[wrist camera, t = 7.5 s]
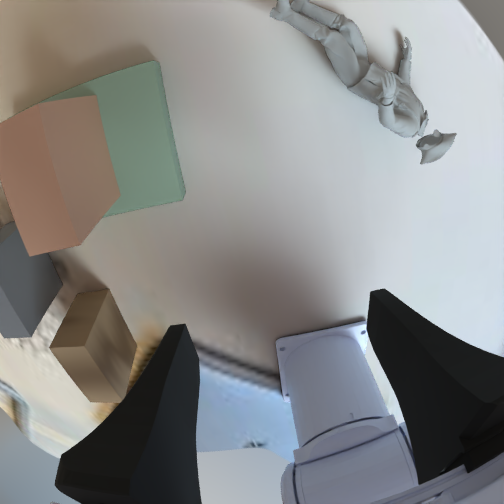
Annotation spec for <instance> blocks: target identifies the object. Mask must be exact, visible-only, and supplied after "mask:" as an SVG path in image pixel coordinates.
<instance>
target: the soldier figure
mask: <svg viewBox="0 0 504 504" xmlns="http://www.w3.org/2000/svg"><path fill="white" fill-rule="evenodd" d="M292 9H293V10H292ZM295 11H297V12H299V13H300V12H303V13H304V14H305V15H307V16H309V17H311V18H313V19H315V20H317V21H318V22H320V23H323V24H325V25H327V26H321V25H320V24H318V23H316V22H314V21H312V20H309V19H307V18H306V17H304V16H302V15H300V14H298V13H296V12H295ZM270 17H272V18H274V19H276V20H280V21H285V22H287V23H289V24H290V25H292V26H293V27H294V28H296V29H298V30H299V31H301V32H303V33H304V34H306V35H307V36H309V37H310V38H312V39H314V40H319V41H320V43H321V44H323V45H324V47H325V51H326V54H327V56H328V58H329V59H330V61H331V63H332V65H333V68H334V70H335V72H336V73H337V74H338V76H339V77H340V79H341V80H342V82H343V83H344V84H345V85H346V86H347V88H348V89H349V90H350V91H352V92H353V93H355V94H356V95H358V96H360V97H361V98H363V99H366V100H368V101H369V102H372V103H374V104H376V105H378V106H379V110H378V113H379V121H380V123H381V124H382V125H383V126H384V127H386V128H388V129H390V130H391V131H393V132H395V133H396V134H398V135H400V136H402V137H411V136H412V138H413V137H415V136H416V135H417V134H418V135H419V136H421V137H422V136H423V134H424V130H425V127H426V125H427V121H428V120H429V119H428V114H427V110H426V111H425V113H424V108H423V105H422V103H421V102H420V100H419V99H418V98H417V97H416V95H415V94H414V92H413V91H412V88H411V87H410V69H411V61H410V60H411V50H412V48H411V44H410V41H409V40H408V38H407V37H405V39H406V40H405V39H404V41H405V43H406V45H407V48H403V47H402V45H400V47H401V49H402V51H403V54H404V59H402V60H401V62H400V68H399V72H398V76H397V75H396V74H395V73H394V74H393V72H392V71H391V73H390V72H389V71H387V70H385V69H383V68H382V67H381V66H379V65H378V64H377V63H376V62H374V63H372V64H371V65H370V64H369V61H368V57H367V47H366V44H365V41H364V39H363V36H362V34H361V32H360V30H359V28H358V26H357V25H356V24H355V23H354V22H353V21H352V20H350V19H347V18H346V17H345V16H344V15H338V14H337V13H334V12H331V11H329V10H326V9H323V8H321V7H319V6H317V5H315V4H312V3H310V2H309V0H293V1H292V3H291V4H289V0H277V5H276V7H275V8H273V9H272V11H271V13H270ZM328 26H329V27H331V28H335V29H339V32H337V31H335V30H330V29H329V28H328ZM455 136H456V133H452V134H443V133H442V134H441V133H440V132H439V131H438V130H435V131H434V134H430V135H427V136H424V137H422V138H421V139H419V140H418V141H417V145H416V146H417V148H418V149H420V150H421V151H422V159H421V162H420V164H425V163H431V162H434V161H436V160H438V159H440V158H441V157H442V156H443V155H444V154H445V153H446V152H447V151H448V150H449V148H450V147H451V146H452V144H453V142H454V139H455Z"/></svg>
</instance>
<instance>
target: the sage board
mask: <svg viewBox="0 0 504 504" xmlns="http://www.w3.org/2000/svg"><path fill="white" fill-rule="evenodd" d="M92 95H96V96H97V101H98V106H99V111H100V115H101V120H102V124H103V129H104V133H105V137H106V142H107V146H108V150H109V154H110V158H111V162H112V165H113V169H114V173H115V176H116V180H117V184H118V187H119V191H120V194H121V196H120V197H119V198H118V199H117V200H116V202H115V203H114V204H113V205H112V206H111V207H110V209H109V210H108V211H107V212H106V213H105V215H104V216H103V217H107V216H112V215H116V214H120V213H125V212H129V211H134V210H138V209H143V208H147V207H152V206H157V205H162V204H167V203H172V202H177V201H182V200H183V198H184V195H185V192H186V191H185V187H184V183H183V178H182V174H181V169H180V165H179V160H178V156H177V151H176V146H175V142H174V137H173V132H172V127H171V122H170V117H169V112H168V107H167V102H166V97H165V92H164V86H163V81H162V75H161V70H160V64H159V62H156V61H154V60H153V61H149V62H146V63H142V64H139V65H135V66H132V67H129V68H126V69H122V70H119V71H116V72H113V73H110V74H107V75H104V76H102V77H99V78H96V79H93V80H91V81H88V82H85V83H83V84H80V85H78V86H75V87H73V88H71V89H68V90H66V91H63V92H61V93H59V94H57V95H54V96H52V97H50V98H48V99H46V100H43V101H41V102H39V103H44V102H50V101H55V100H62V99H68V98H76V97H83V96H92ZM37 104H38V103H37ZM35 105H36V104H35ZM33 106H34V105H33ZM31 107H32V106H31ZM29 108H30V107H29ZM27 109H28V108H27ZM25 110H26V109H25ZM23 111H24V110H23ZM21 112H22V111H21ZM19 113H20V112H19ZM17 114H18V113H17ZM14 116H15V115H14ZM12 117H13V116H12ZM10 118H11V117H10ZM8 119H9V118H8ZM103 217H102V218H103Z"/></svg>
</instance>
